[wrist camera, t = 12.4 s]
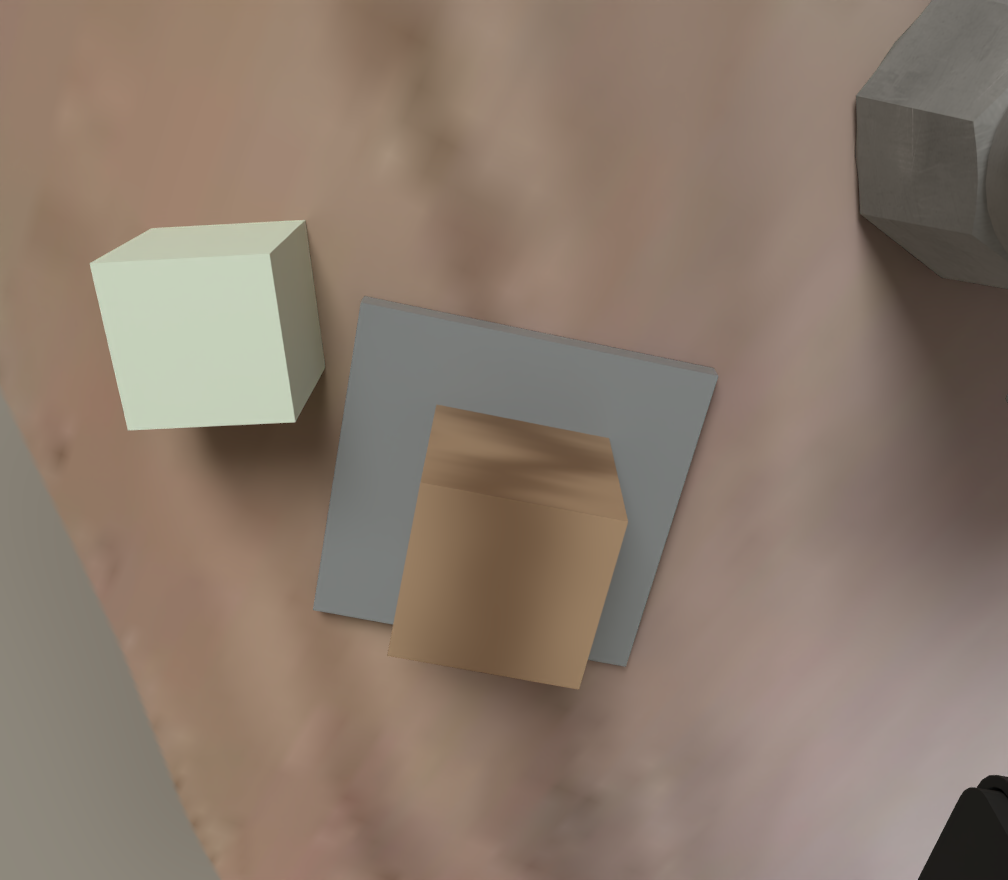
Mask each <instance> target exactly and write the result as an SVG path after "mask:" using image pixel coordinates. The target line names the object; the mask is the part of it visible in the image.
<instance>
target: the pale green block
mask: <svg viewBox="0 0 1008 880" xmlns="http://www.w3.org/2000/svg"><path fill="white" fill-rule="evenodd" d="M90 267H91V271H92V276H93V280H94V284H95V289H96V293H97V297H98V302H99V306H100V311H101V315H102V319H103V324H104V328H105V332H106V337H107V341H108V345H109V350H110V354H111V358H112V363H113V367H114V372H115V376H116V380H117V385H118V389H119V393H120V398H121V402H122V406H123V411H124V415H125V419H126V424H127V428H128V430H145V429H165V428H186V427H207V426H228V425H249V424H269V423H290V422H296V420H297V418H298V417H299V415H300V413H301V411H302V409H303V407H304V406H305V404H306V402H307V400H308V398H309V396H310V395H311V393H312V391H313V389H314V387H315V386H316V384H317V382H318V380H319V378H320V376H321V375H322V373H323V371H324V369H325V360H324V353H323V346H322V338H321V331H320V324H319V317H318V309H317V302H316V295H315V287H314V280H313V273H312V265H311V258H310V251H309V243H308V236H307V229H306V221H305V220H295V221H277V222H258V223H240V224H222V225H203V226H185V227H167V228H151V229H149V230H148V231H146V232H144V233H142V234H141V235H139V236H137V237H135V238H134V239H132V240H130V241H128V242H127V243H125V244H123V245H121V246H119V247H118V248H116V249H114V250H112V251H111V252H109V253H107V254H105V255H104V256H102V257H100V258H98V259H96V260H95V261H93V262H91V263H90Z"/></svg>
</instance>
